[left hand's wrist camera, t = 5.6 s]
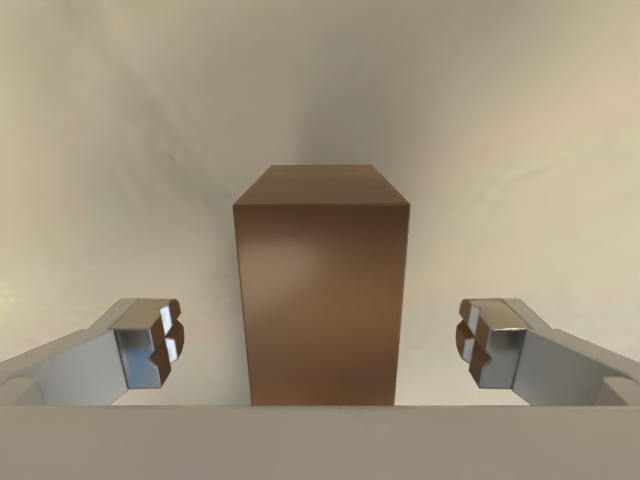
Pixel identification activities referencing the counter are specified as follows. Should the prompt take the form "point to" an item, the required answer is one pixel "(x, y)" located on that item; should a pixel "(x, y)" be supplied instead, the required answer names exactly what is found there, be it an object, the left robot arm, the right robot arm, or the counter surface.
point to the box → (322, 284)
